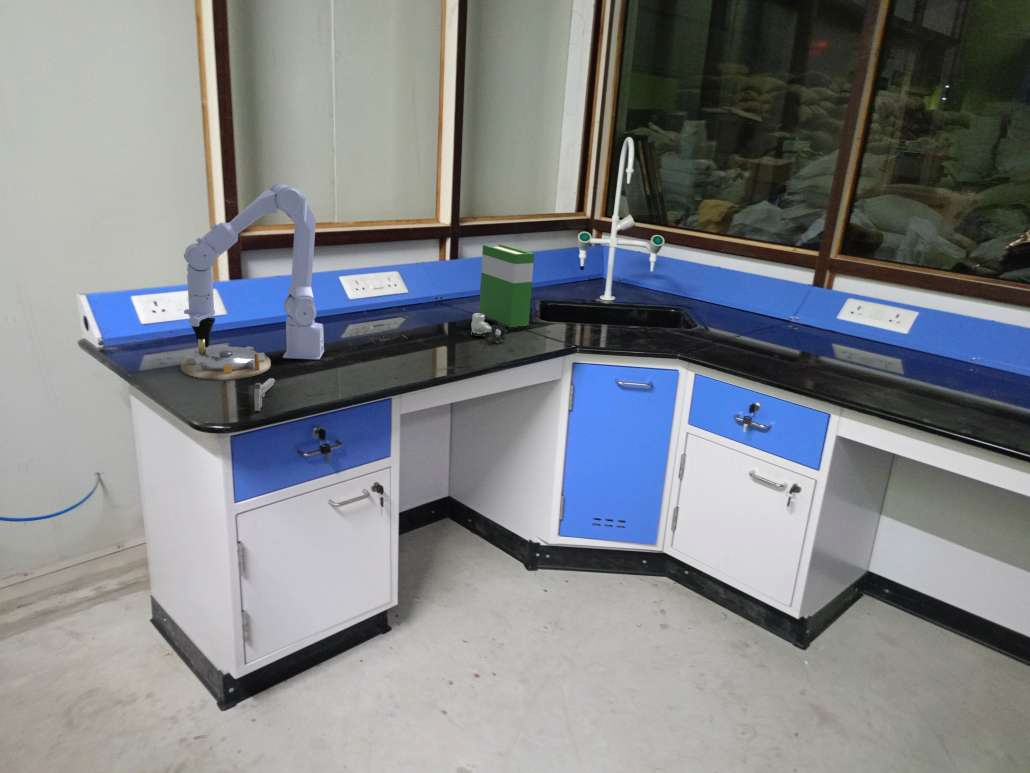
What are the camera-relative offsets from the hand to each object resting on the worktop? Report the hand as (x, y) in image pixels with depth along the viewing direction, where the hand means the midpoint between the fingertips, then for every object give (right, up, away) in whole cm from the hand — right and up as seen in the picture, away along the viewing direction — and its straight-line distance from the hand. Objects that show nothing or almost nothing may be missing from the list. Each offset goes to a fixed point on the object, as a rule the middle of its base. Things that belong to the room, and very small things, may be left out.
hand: (203, 346), depth 190 cm
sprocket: (+6, -4, 0) cm, 7 cm away
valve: (+69, +4, +41) cm, 80 cm away
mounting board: (+6, -5, 0) cm, 7 cm away
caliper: (+21, -12, -17) cm, 30 cm away
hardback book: (+74, +11, +61) cm, 97 cm away
